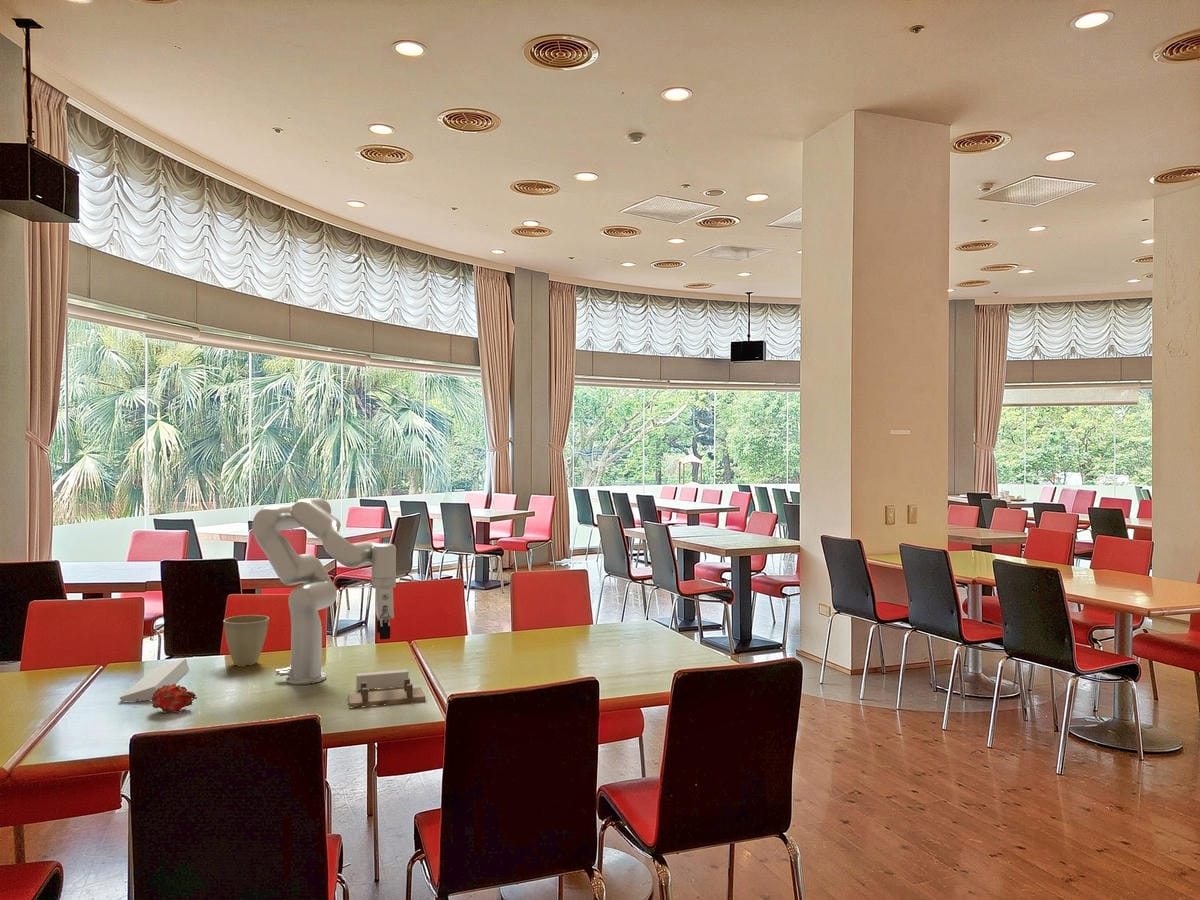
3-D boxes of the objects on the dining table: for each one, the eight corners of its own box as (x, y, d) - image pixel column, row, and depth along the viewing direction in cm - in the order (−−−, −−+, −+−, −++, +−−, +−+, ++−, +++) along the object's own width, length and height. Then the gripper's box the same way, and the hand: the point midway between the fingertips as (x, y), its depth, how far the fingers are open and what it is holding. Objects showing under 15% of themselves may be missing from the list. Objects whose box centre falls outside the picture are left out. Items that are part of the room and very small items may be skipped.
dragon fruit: (148, 717, 231) (193, 720, 234) (143, 707, 225) (189, 710, 227) (158, 688, 236) (201, 692, 239) (153, 677, 230) (198, 681, 232)
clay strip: (356, 691, 253) (356, 676, 253) (356, 689, 256) (356, 673, 256) (408, 687, 258) (408, 671, 258) (407, 684, 261) (407, 669, 261)
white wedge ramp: (124, 712, 239) (159, 701, 242) (119, 697, 239) (155, 686, 241) (158, 681, 273) (189, 671, 275) (154, 667, 272) (185, 658, 275)
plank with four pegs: (349, 708, 235) (349, 691, 235) (347, 698, 245) (348, 682, 245) (425, 701, 243) (425, 684, 243) (420, 692, 252) (421, 676, 252)
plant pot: (248, 670, 275) (249, 624, 275) (213, 667, 279) (213, 621, 279) (277, 660, 289) (278, 616, 290) (243, 657, 294) (243, 613, 294)
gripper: (398, 585, 250) (398, 640, 250) (392, 577, 267) (392, 629, 266) (373, 587, 248) (373, 642, 248) (369, 579, 264) (369, 631, 264)
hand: (383, 635), depth 257 cm, fingers open, 9 cm apart
